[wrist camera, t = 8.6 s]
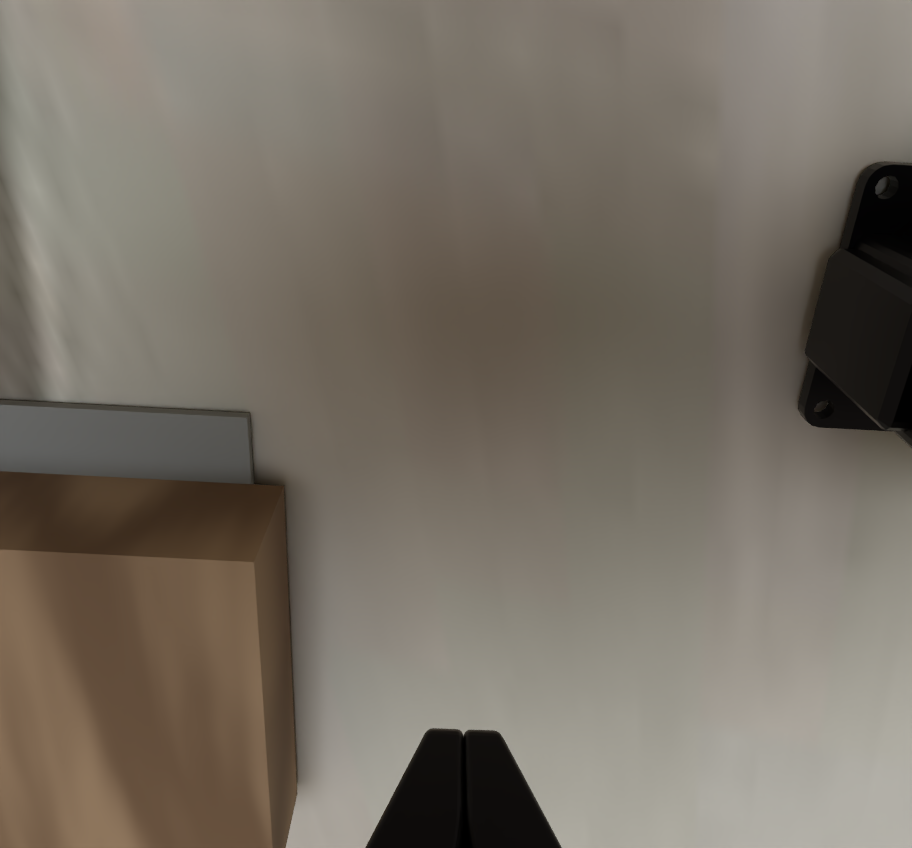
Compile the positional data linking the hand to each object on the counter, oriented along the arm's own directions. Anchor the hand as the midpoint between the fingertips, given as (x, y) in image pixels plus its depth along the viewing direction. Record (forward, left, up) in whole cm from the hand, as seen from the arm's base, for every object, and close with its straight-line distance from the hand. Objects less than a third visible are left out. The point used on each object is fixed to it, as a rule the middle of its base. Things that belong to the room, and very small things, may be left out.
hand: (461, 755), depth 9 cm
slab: (+5, +10, -10) cm, 15 cm away
